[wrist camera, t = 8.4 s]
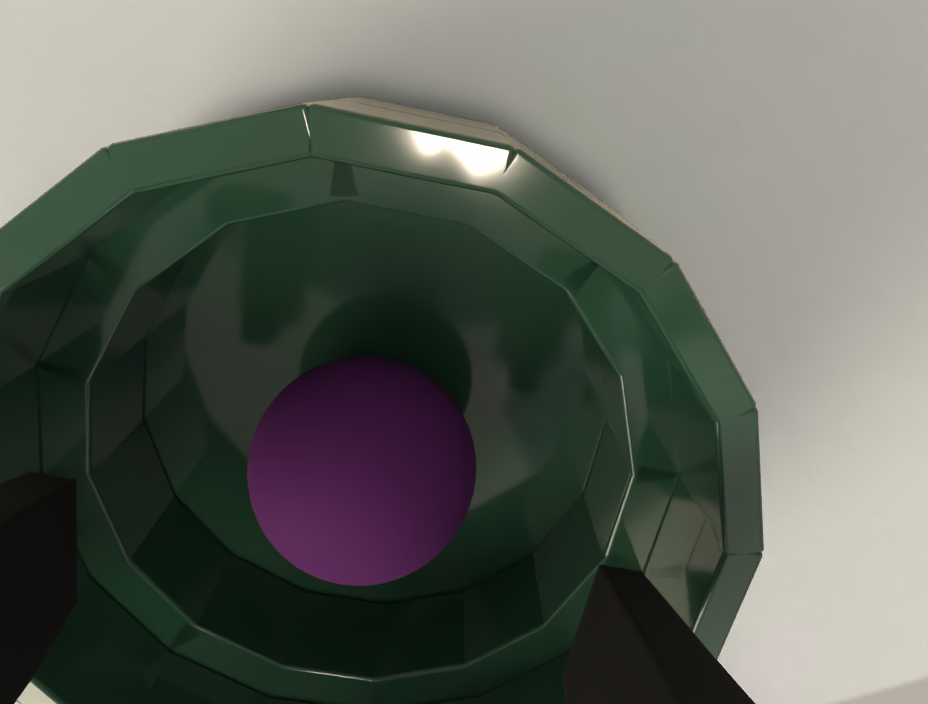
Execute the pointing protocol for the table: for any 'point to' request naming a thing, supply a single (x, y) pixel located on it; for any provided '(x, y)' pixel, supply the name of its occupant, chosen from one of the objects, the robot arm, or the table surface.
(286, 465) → the ball
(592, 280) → the bowl
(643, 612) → the robot arm
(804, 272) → the table surface
